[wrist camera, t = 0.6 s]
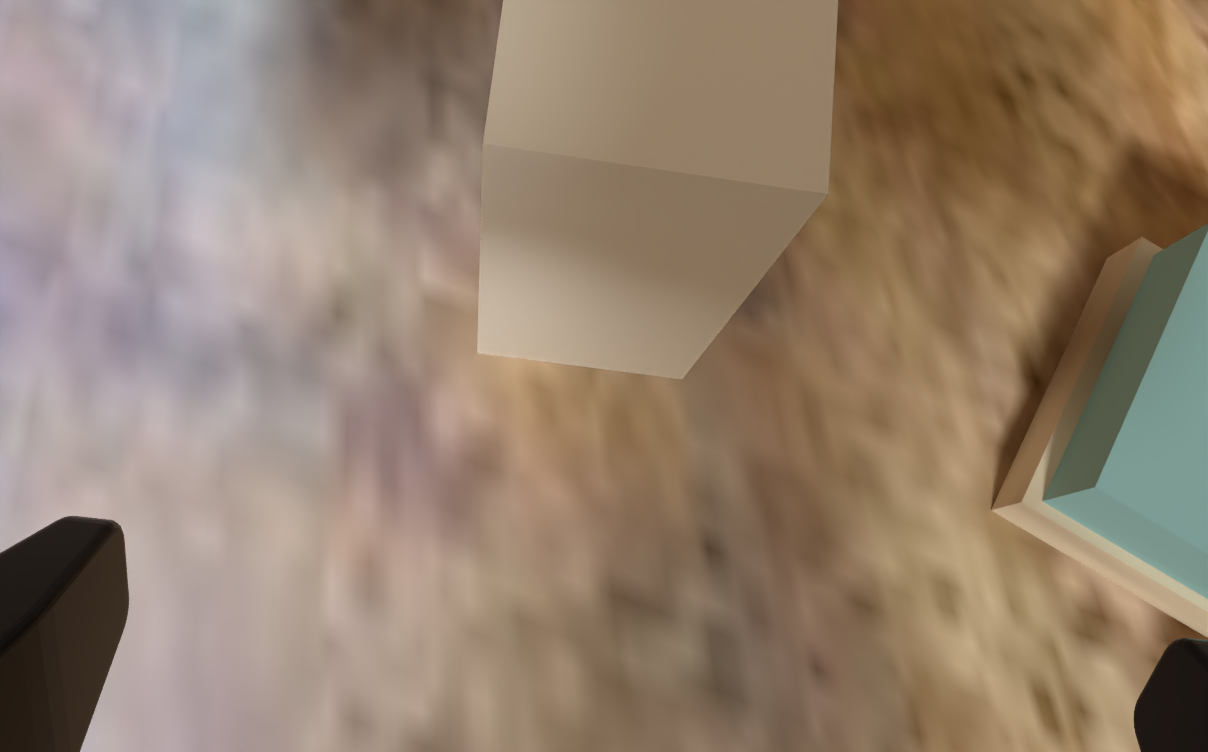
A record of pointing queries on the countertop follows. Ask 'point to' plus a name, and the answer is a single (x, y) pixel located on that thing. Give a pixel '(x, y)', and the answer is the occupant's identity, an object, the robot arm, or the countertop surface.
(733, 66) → the cream column
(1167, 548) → the teal square slab
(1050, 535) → the tower base
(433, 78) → the countertop surface
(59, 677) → the robot arm
